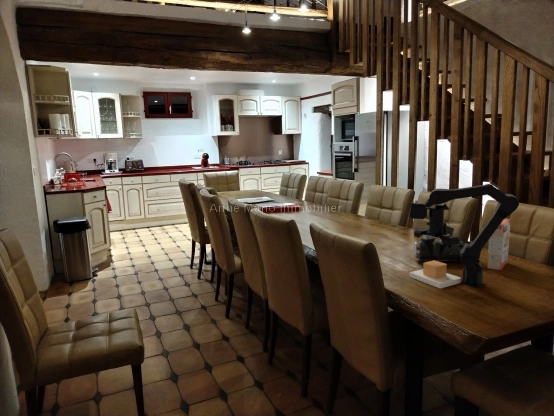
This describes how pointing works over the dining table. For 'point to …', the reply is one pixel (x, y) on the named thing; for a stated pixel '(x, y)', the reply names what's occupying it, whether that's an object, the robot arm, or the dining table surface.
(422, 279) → the socket plate
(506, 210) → the robot arm
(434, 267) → the plug
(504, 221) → the cracker box
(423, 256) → the muzzle brake
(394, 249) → the dining table surface
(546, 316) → the dining table surface
